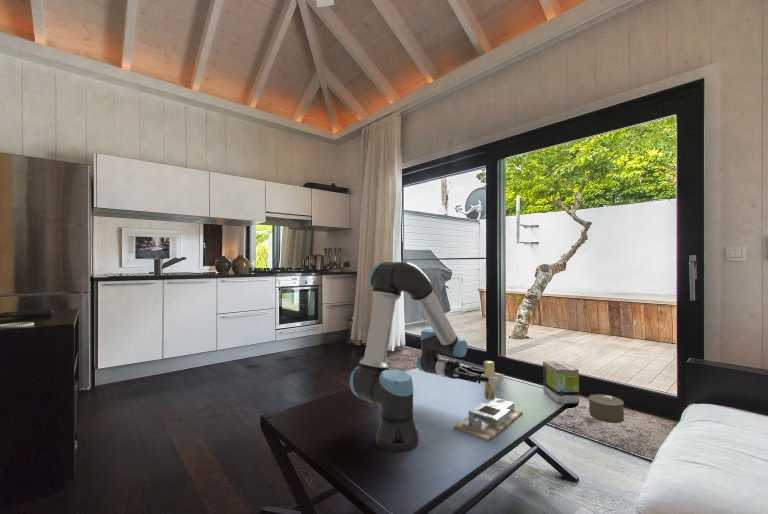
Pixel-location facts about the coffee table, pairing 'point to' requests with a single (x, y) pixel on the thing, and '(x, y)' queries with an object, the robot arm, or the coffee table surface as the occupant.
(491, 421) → the metal square socket
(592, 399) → the olive round block
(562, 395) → the tea box
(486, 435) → the joining board
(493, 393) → the pin
